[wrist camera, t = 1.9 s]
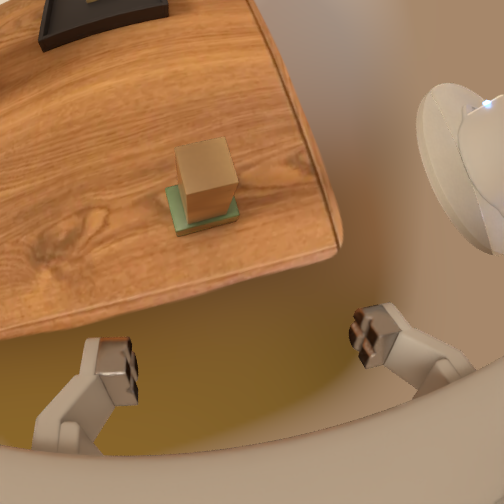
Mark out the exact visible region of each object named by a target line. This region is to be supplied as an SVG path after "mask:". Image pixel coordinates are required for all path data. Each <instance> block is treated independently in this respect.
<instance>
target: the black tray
mask: <svg viewBox="0 0 504 504" xmlns="http://www.w3.org/2000/svg"><path fill="white" fill-rule="evenodd" d="M163 17H168V1H167V0H97V1H94V2H90V3H87V1H86V0H46V1H45V6H44V11H43V16H42V21H41V26H40V32H39V38H38V42H39V45H40V47H41V49H42V51H43V52H45V51H47V50H50V49H53V48H55V47H58V46H60V45H63V44H66V43H69V42H72V41H75V40H78V39H81V38H84V37H87V36H90V35H93V34H97V33H100V32H103V31H107V30H111V29H114V28H118V27H122V26H126V25H130V24H134V23H139V22H143V21H148V20H153V19H158V18H163Z"/></svg>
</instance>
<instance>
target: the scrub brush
mask: <svg viewBox="0 0 504 504" xmlns="http://www.w3.org/2000/svg"><path fill="white" fill-rule="evenodd" d="M174 151H175V161H176V171H177V180H178V185H175V186H171V187H167V188H165V191H166V195H167V199H168V203H169V207H170V211H171V215H172V219H173V223H174V227H175V231H176V235H177V237H179V236H182V235H186V234H190V233H194V232H197V231H201V230H205V229H208V228H212V227H216V226H220V225H224V224H227V223H231V222H235V221H237V219H238V217H239V215H240V214H239V210H238V207H237V204H236V201H235V197H234V193H235V191H236V188H237V186H238V183H239V180H238V177H237V174H236V171H235V167H234V164H233V161H232V158H231V155H230V151H229V148H228V145H227V142H226V138H225V136H224V137H219V138H214V139H209V140H205V141H200V142H196V143H191V144H187V145H182V146H178V147H175V148H174Z"/></svg>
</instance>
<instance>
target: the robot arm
mask: <svg viewBox="0 0 504 504" xmlns="http://www.w3.org/2000/svg"><path fill="white" fill-rule="evenodd" d="M458 141H459V148H460V153H461V156H462V160H463V163H464V165H465V168H466V170H467V172H468V175H469V177H470V179H471V180H472V182H473V184H474V185H475V187H476V189H477V190H478V191H479V193H480V194H481V195H482V197H483V198H484V199H485V200H486V201H487V202H488V203H490V204H491V205H492V206H494V207H495V208H496V209H498V210H499V212H500V213H501V215H502V216H503V218H504V95H499V96H498V97H496V98H494V99H492V100H491V101H488V100H486V101H485V102H483V105H482V106H480V107H479V108H477V107H474V106H472V105H468V104H467V105H465V106H463V107H462V123H461V125H460V128H459V133H458ZM353 317H354V319H355V321H354V322H353V323H352V324H351V326H350V329H349V339H350V343H351V345H352V347H353V348H354V349H356V350H357V351H359V359H360V360H361V362H362V364H363V365H364V367H365V369H369V368H373V367H377V366H380V365H384V366H385V367H387V368H388V369H389V370H391V371H392V372H393V373H395V374H396V375H398V376H399V377H401V378H402V379H403V380H405V381H406V382H408V383H409V384H410V385H412V386H413V387H415V388H416V389H418V391H417V393H416V394H415V395H414V397H413V399H412V400H411V401H408V402H406V403H403V404H400V405H398V406H395V407H392V408H389V409H387V410H384V411H381V412H378V413H375V414H372V415H369V416H366V417H363V418H360V419H357V420H353V421H350V422H347V423H343V424H340V425H337V426H333V427H329V428H326V429H322V430H318V431H314V432H310V433H306V434H302V435H298V436H294V437H289V438H284V439H279V440H275V441H270V442H264V443H259V444H253V445H247V446H241V447H234V448H227V449H220V450H212V451H204V452H194V453H183V454H169V455H150V456H149V455H147V456H103V454H102V453H101V452H100V451H99V449H98V448H97V447H96V446H95V444H94V443H93V442H94V440H95V438H96V437H97V435H98V433H99V432H100V430H101V429H102V427H103V426H104V424H105V423H106V421H107V419H108V418H109V416H110V415H111V413H112V411H113V410H114V408H115V407H114V406H128V405H138V388H137V385H136V381H137V380H138V365H137V360H136V356H135V353H134V352H133V351H132V343H131V340H130V338H129V337H101V338H87V340H86V341H85V346H84V351H83V357H82V362H81V368H80V374H79V375H75V376H74V377H73V378H72V379H71V380H70V381H69V383H68V384H67V385H66V386H65V387H64V388H63V389H62V390H61V391H60V392H59V394H58V395H57V396H56V397H55V398H54V399H53V400H52V401H51V402H50V403H49V405H48V406H47V407H46V408H45V409H44V410H43V411H42V412H41V413H40V415H39V416H38V417H37V418H36V424H35V430H34V436H33V442H32V449H31V450H29V449H22V448H16V447H10V446H4V445H0V504H504V356H503V357H501V358H499V359H497V360H495V361H494V362H492V363H490V364H488V365H486V366H485V367H482V368H481V369H479V370H477V371H476V369H475V368H474V367H473V365H472V364H471V363H470V362H469V360H468V359H467V358H466V356H465V355H464V354H463V352H461V350H459V349H457V348H455V347H453V346H451V345H449V344H447V343H445V342H443V341H441V340H439V339H437V338H435V337H433V336H431V335H429V334H427V333H425V332H423V331H421V330H419V329H417V328H412V327H411V326H410V324H409V323H408V322H407V321H406V319H405V318H404V317H403V315H402V314H401V313H400V312H399V311H398V309H397V308H396V307H395V305H394V304H393V303H391V302H388V303H384V304H379V305H374V306H369V307H364V308H358V309H357V310H356V311H355V313H354V316H353Z"/></svg>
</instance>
